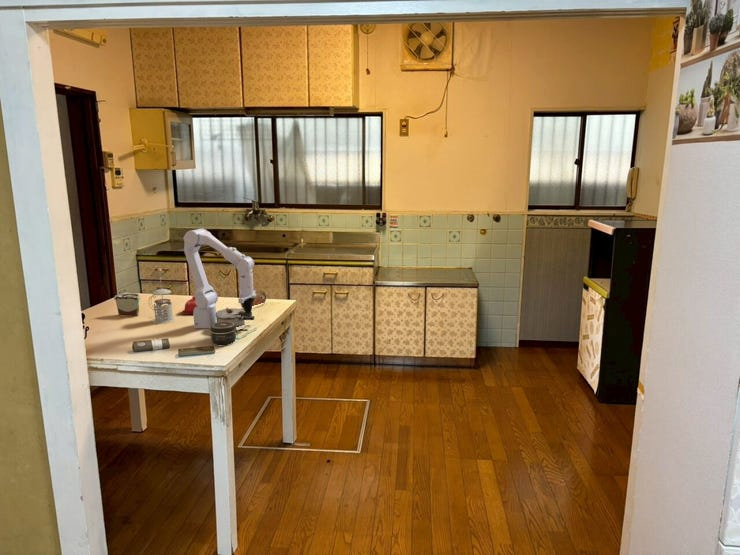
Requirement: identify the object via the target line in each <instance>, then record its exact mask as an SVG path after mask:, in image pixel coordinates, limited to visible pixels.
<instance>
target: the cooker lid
mask: <svg viewBox="0 0 740 555" xmlns="http://www.w3.org/2000/svg"><path fill="white" fill-rule="evenodd" d="M215 314H216V317H218V318H222V319H231V318H238V317H241V316H246V317H250V316H253V313H252V311H251V312H246V311H245V309H243V308H235V307H233V308H232V307H231V308H229V307H225V308H223V309H219V310H216V313H215Z"/></svg>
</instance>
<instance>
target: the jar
mask: <svg viewBox="0 0 740 555" xmlns="http://www.w3.org/2000/svg"><path fill="white" fill-rule="evenodd" d="M236 332H237V331H236V327H235V323H233V322H228V321H223V322H217V323H214V324H212V325H211V328H210V337H211V343H212V344H213V345H214V344H215V346H218V345H222V346H223V345H225V346H229V345H228V344H230V345H232V344H234V343H235V341H236V339H237V333H236ZM233 342H234V343H233ZM231 343H232V344H231ZM222 346H221V347H222ZM223 347H224V346H223Z"/></svg>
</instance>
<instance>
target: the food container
mask: <svg viewBox="0 0 740 555" xmlns="http://www.w3.org/2000/svg"><path fill="white" fill-rule="evenodd" d="M113 299H114V300H113V301H115V304H116V308H117V313H118V316H119V317H139V316H138V315H140V301H141V296H140V295H139V294H138V293H134V292H131V293H128V292H126V293H120V294H116V295H114V298H113Z"/></svg>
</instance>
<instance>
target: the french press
mask: <svg viewBox="0 0 740 555" xmlns="http://www.w3.org/2000/svg"><path fill="white" fill-rule="evenodd" d="M162 271H163V270H162V268H157V272H162ZM161 276H162V275H159V279H160V282H162V277H161ZM171 293H172V291H171V290H169V289H167V288H163V286H160V288H159V289H157V290H154V291H153V292H152V295H151V296H150V297H149V298H148V300H153V299H152V298H154V299H155V298H156V297H157V296H161V298H160V299H155V300H154V304H153V303H152V301H150V303H148V305H149V308H150V309H152V310H153V312H154V319H153V321H152V322H154V324H156V323H157V325H162V324H163V325H165V324H171V323H173V322H175V321H176V318H175V317H173V316H174V315H173V305H172V304H173V303H172V302H171V299H170V298H163V296H166V295H170V294H171Z"/></svg>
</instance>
